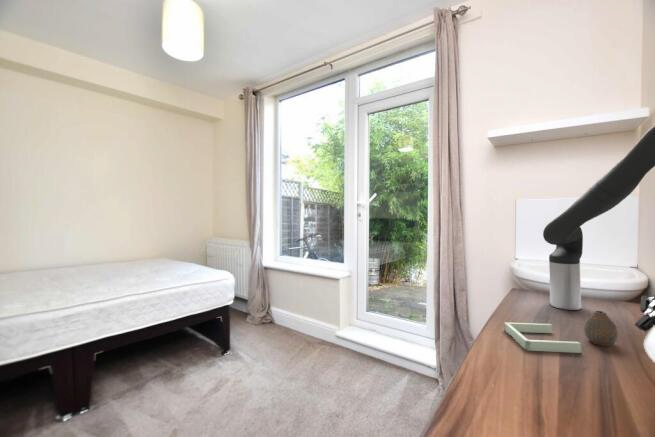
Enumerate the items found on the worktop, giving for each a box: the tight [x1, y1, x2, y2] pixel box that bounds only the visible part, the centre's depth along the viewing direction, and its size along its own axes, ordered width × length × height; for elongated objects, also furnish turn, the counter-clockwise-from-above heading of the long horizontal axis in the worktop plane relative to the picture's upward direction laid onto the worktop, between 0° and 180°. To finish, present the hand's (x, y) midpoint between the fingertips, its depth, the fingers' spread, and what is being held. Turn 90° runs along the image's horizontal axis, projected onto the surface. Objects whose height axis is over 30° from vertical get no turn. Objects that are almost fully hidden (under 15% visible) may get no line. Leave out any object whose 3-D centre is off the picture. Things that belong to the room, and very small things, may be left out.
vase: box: [583, 310, 619, 347], centre depth 81 cm, size 7×7×9 cm
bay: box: [503, 321, 582, 354], centre depth 84 cm, size 14×13×2 cm
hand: (639, 328), depth 79 cm, fingers closed
